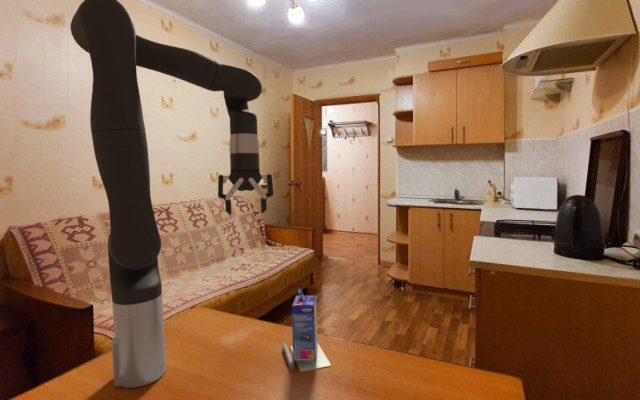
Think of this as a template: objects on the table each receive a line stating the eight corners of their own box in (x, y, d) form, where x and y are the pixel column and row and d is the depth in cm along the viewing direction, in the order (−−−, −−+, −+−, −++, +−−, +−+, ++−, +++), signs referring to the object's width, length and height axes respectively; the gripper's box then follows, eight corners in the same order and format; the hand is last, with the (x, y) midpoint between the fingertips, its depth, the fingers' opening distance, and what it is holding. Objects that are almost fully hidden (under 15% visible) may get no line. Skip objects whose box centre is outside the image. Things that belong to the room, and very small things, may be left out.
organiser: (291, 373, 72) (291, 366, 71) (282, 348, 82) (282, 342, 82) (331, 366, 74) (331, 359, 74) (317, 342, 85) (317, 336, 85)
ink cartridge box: (295, 344, 83) (295, 285, 84) (317, 344, 83) (317, 285, 84) (291, 361, 73) (291, 294, 74) (316, 361, 73) (316, 294, 74)
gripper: (216, 151, 83) (218, 216, 84) (273, 151, 87) (275, 213, 88) (216, 153, 90) (218, 213, 91) (269, 153, 94) (271, 210, 95)
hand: (246, 213), depth 90 cm, fingers open, 8 cm apart
